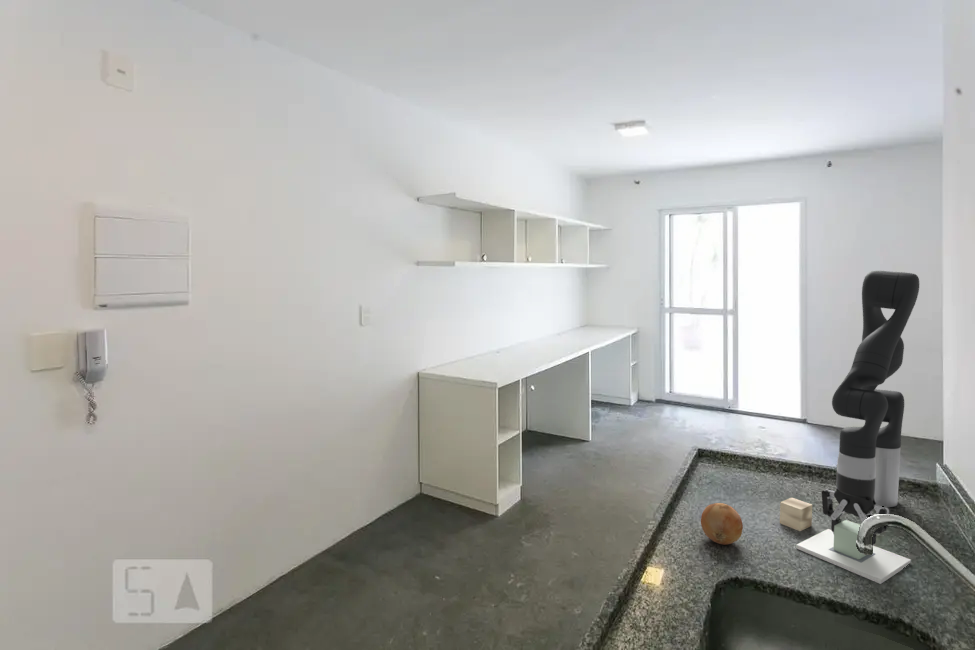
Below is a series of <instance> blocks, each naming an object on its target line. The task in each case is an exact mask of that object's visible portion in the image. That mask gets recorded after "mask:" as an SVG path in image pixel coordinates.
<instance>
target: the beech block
mask: <svg viewBox="0 0 975 650" xmlns="http://www.w3.org/2000/svg"><path fill="white" fill-rule="evenodd" d="M779 504H780V505H779V524H781V525H783V526H785V527H789V528H791V529H794V530H796V531H798V532H802V531H804V530H806V529H808V528H810V527H812V521H813V504H812V503H808V502H806V501H803V500H800V499H797V498H794V497H789V498H787V499H785V500H782V501H780V503H779Z"/></svg>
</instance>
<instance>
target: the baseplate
mask: <svg viewBox="0 0 975 650" xmlns="http://www.w3.org/2000/svg"><path fill="white" fill-rule="evenodd" d="M795 548H796V549H797V550H799V551H802V552H804V553H806V554H809V555H810V556H813V557H815V558H817V559H820V560H823V561H825V562H828V563H830V564H832V565H835V566H836V567H839V568H842V569H844V570H846V571H849V572H851V573H853V574H856V575H858V576H860V577H863V578H865V579H868V580H870V581H873V582H875V583H877V584H880V585H881V584H882V583H884V582H886V581H887V580H889V579H890V578H892V577H893V576H894V575H896V574H898V573H899V572H901V571H902V570H903V568H904V567H905V568H907V567H908V566H909V565H908V564H909V563H910V562H911V563H912V559H910V558H908V557H905V556H902V555H899V554H897V553H894V552H893V551H889V550H886V549H883V548H881V547H878V546H875V545H873V554H872V555H866V556H864V557H863V558H861V559H856V558H854V557H851V556H848V555H846V554H843V553H841V552H838V551H836V550H833V548H834V534H833V532H832V530H831V528H826V529H825V530H823V531H821V532H819V533H817V534H815V535H813V536H811V537H808V538H807V539H805V540H802V541H801V542H799V543H796V547H795ZM907 565H908V566H907ZM906 566H907V567H906ZM905 568H904V569H905Z"/></svg>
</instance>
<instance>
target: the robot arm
mask: <svg viewBox="0 0 975 650" xmlns="http://www.w3.org/2000/svg"><path fill="white" fill-rule="evenodd" d="M919 291H920V277H919V276H918V275H917V274H915V273H911V272H905V271H904V272H903V271H890V270H889V271H888V270H886V271H885V270H871V271H869V272H868V273H867V274H866V275H865V276H864V277H863V282H862V287H861V305H862V308H861V309H862V320H863V321H862V336H861V342H860V343H859V344H858V347H857V349H856V351H855V355H854V357H853V358H854V359H853V361H852V364H851V368H850V369H849V372H848V373H847V375H846V376H845V378H844V379H843V380H842V382H841V383H840V385H839V386H838V387H837V388H836V390H835V391H834V394H833V396H832V399H831V406H832V410H833V411H834V412H835V413H836V415H838V416H841V417H844V418H848V419H849V418H850V419H851V418H852V419H855V420H861V421H864V424H863V426H846V427H843V428H842V429H841V430H840V432H839V449H838V456H837V461H836V462H837V463H836V483H835V487H836V490H835V491H834V490H832V489H831V488H826V489H823V490H821V504H822V513H823V515H825V516H828V517H830V519H831V523H830V524H831V528H830V530H832V532H833V534H834V526H835V525H837V524H839V523H841V522H843V521H842V519H841V517H842V516H843V515H844V514H850V515H851V514H852V515H853V516H855V517H858V518H859V519H860V521H861V523H862V522H863V521H864V520H865V519H867V518H868V517H870V516H873V517H874V515H873V513H872V511H873V510H875V512H876V513H875V514H876V515H877V514H890V515H891V508H893V507H896V506H898V503H899V502H898V500H899V497H898V496H899V487H900V486H899V483H900V466H901V450H902V449H901V448H902V447H901V445H902V428H903V421H904V420H903V419H904V412H905V398H904V397H905V396H904V395H903V394H902V392H900V391H896V390H888V389H887V390H886V389H878V388H877V387H878V386H879V385H882V384H884V382H885V381H886V380H887V379H888V378H890V377H891V376H893V375H894V374H895V373H896V372H898V370H899V369H900V368H901V367H902V364H903V360H904V351H905V343H904V340H903V338H902V334H903V332H904V330H905V328H906V326H907V323H908V321H909V319H910V317H911V314H912V312H913V309H914V306H915V305H916V302H917V300H918V295H919ZM882 309H889V310H894V312H892V315H891V316H890V317H889V318H888V319H887V318H886V317H885V315H884V314H883V311H882ZM883 423H887V424H886V425H885V426H883V427H881V426H882V424H883ZM833 499H835V500H836V501H837V504H838V505H837V506H836V508H835V509H834V506H833V505H834V504H833ZM882 506H884V507H882ZM887 529H888V525H886V526H883V527H880V528H878V529H877V530H876V531H875V532H874V534H873V537H872V546H875V545H876V543H877V534H879V535H880V534H883V533H884V532H886V531H887Z"/></svg>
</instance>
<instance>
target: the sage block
mask: <svg viewBox="0 0 975 650" xmlns="http://www.w3.org/2000/svg"><path fill="white" fill-rule="evenodd" d="M860 525H861V524H860V523H856V522H853V521H850V520H847V519H845V520H843V521H841V523H839V524H837V525H835V526H834V548H833V550H836V551H838V552H841V553H843V554H846V555H848V556H851V557H854V558H856V559H861V558H863V557H864V556H866V555H864V554H862V553H860V552H859V551H858V549H857V547H856V540H857V535H858V531H859V527H860Z"/></svg>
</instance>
